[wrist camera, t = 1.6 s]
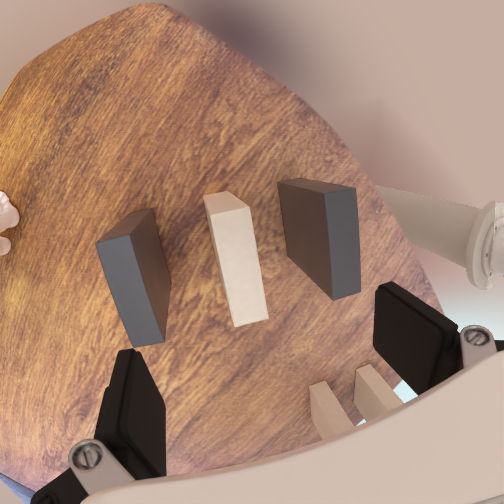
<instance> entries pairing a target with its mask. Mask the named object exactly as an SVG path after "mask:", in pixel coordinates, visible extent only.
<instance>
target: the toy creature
mask: <svg viewBox="0 0 504 504" xmlns="http://www.w3.org/2000/svg"><path fill="white" fill-rule="evenodd" d="M19 219H20V217H19V213H18V211H17V209H16V208H15V207H14V206H12V205H11V203H10V202H9V198H8V197H7V196H6V194H5V193H4V192H1V191H0V233H1V232H3V231H4V230H6V229H7V228H12V227H14V226H16V225H17V224H18V222H19ZM10 248H11V242H10V240H9V239H8V238H6V237H1V236H0V256H1V255H5V254H7V253H8V252H9V250H10Z"/></svg>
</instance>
